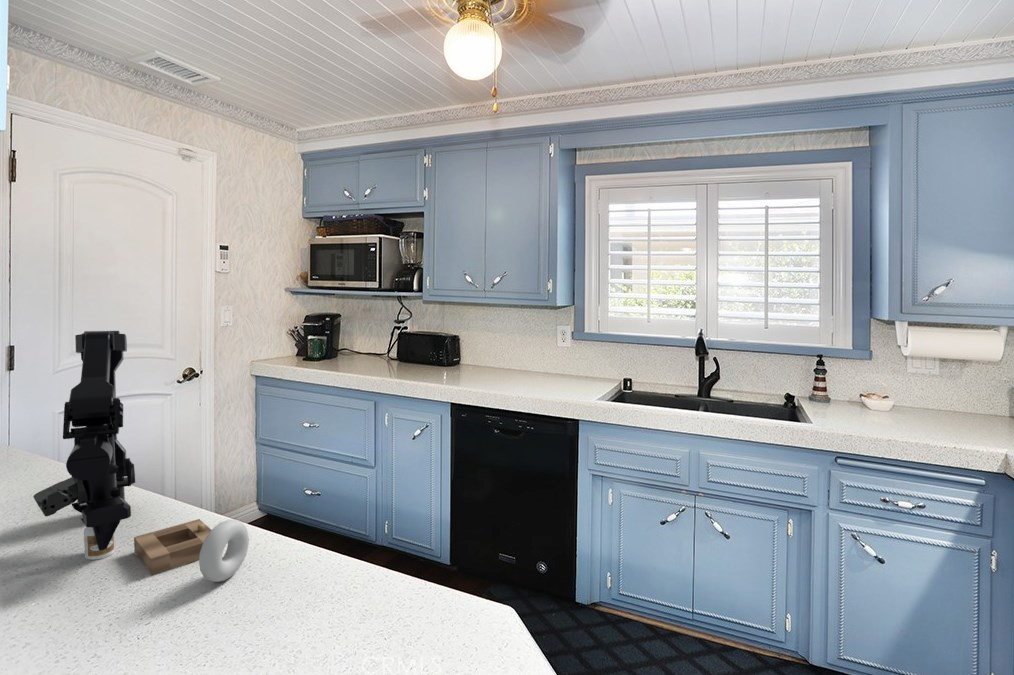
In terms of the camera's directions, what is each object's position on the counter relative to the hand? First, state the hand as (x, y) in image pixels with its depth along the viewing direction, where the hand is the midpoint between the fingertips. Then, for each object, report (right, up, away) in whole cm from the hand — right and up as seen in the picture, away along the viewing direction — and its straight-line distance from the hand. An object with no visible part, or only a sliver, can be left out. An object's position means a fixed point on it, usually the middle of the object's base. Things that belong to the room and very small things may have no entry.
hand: (99, 544), depth 98 cm
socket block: (+13, -2, +2) cm, 14 cm away
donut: (+26, -3, -6) cm, 27 cm away
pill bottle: (0, -2, 0) cm, 2 cm away
